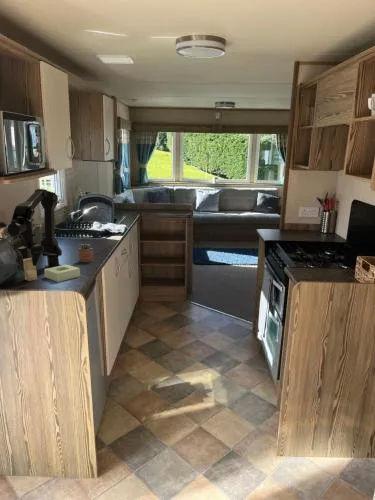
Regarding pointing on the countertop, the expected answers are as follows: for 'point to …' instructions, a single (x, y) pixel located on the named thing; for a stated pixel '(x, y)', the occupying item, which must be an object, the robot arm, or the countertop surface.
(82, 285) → the countertop surface
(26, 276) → the peg
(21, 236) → the robot arm
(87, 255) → the lighter
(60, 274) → the well holder
